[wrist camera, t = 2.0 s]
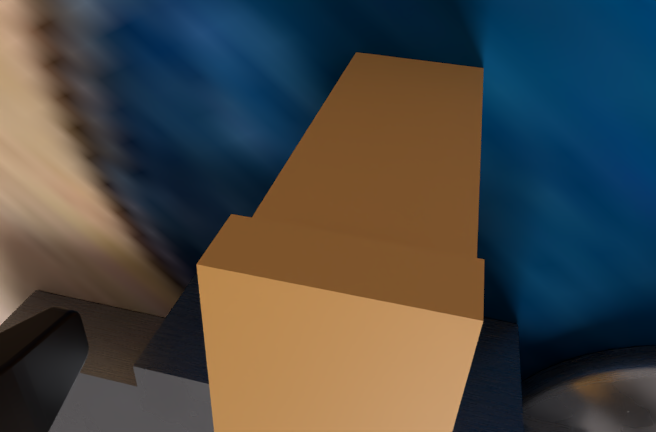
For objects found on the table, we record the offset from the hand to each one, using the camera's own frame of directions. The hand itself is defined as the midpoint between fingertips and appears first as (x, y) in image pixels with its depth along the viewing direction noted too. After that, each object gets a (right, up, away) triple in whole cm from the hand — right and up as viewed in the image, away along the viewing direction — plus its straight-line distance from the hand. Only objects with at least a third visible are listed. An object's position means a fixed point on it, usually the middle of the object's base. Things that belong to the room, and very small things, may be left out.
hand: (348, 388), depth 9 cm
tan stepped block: (+2, +4, +6) cm, 8 cm away
